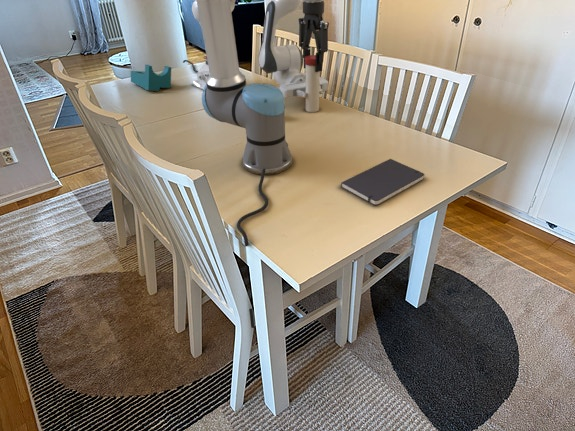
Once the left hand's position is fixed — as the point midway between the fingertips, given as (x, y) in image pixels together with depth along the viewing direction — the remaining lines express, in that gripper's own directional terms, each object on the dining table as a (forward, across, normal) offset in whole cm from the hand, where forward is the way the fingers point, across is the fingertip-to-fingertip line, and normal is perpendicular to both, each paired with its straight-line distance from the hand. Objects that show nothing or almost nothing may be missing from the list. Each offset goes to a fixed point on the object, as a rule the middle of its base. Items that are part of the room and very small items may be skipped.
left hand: (313, 93), depth 157 cm
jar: (-1, 0, +7) cm, 7 cm away
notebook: (+58, -11, +7) cm, 60 cm away
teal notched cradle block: (-65, -50, +7) cm, 82 cm away
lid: (-1, 0, -13) cm, 13 cm away
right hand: (-1, 0, -9) cm, 9 cm away
